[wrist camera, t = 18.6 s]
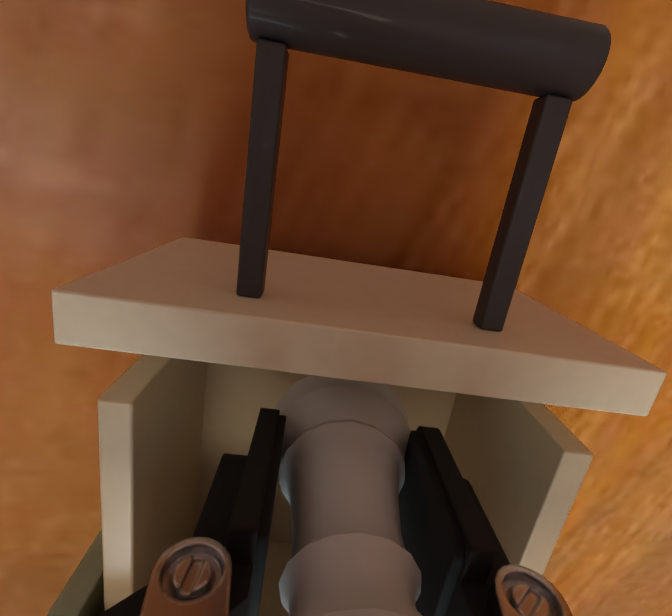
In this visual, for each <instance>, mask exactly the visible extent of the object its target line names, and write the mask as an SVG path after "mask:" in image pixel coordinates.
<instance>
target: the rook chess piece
mask: <svg viewBox="0 0 672 616" xmlns="http://www.w3.org/2000/svg"><path fill="white" fill-rule="evenodd" d="M275 409H278V410H280V414H279V415H284V416H287V417H286V424H285V432H284V439H283V446H282V453H281V461H280V468H279V475H278V483H279V485H280V486H281V491H282V493H283V494H284V496H285V497H286V499H287V500H288V502H289V503H290V507H291V520H292V534H293V542H292V554H291V559H290V560H289V561H288V562H287V564H286V566H285V569H284V571H283V573H282V576H281V578H280V581H279V591H280V598H281V604H282V605H283V606H284V608H285V609H286V610H287V612H288V613H289V616H422V615H421V614H420V613H419V612H418V611H417V609H416V606H415V603H416V601H417V599H418V597H419V595H420V594H421V571H420V569H419V568H418V566H417V564H416V562H415V561H414V559H413V557H412V555H411V553H409V552H408V551H406V550H405V547H404V542H403V538H402V534H401V527H400V513H399V499H398V495H399V493H400V491H401V489H402V487H403V485H404V481H405V461H404V457H405V451H406V447H407V443H408V439H409V435H410V432H411V430H410V428H409V426H408V415H407V413H406V411H405V409H404V407H403V405H402V403H401V401H400V399H399V396H398V394H397V393H396V392H394V391H393V390H392V389H391V388H390V387H388V386H387V385H386V384H379V383H371V382H363V381H355V380H347V379H339V378H331V377H323V376H314V375H311V376H309V377H307V378H304V379H302V380H300V381H298V382H296V383H295V384H294V385H293V386H292V387H291V388H290V389H289V390H288V391H287V392H286V393H285V394H284V395H283V396H282V397H281V398H280V399H279V400H278V401H277V404H276V407H275Z"/></svg>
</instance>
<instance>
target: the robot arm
mask: <svg viewBox="0 0 672 616" xmlns="http://www.w3.org/2000/svg"><path fill="white" fill-rule="evenodd" d="M279 414H280V410H278V409H269V408H260V412H259V415H258V419H257V423H256V426H255V430H254V434H253V438H252V441H251V445H250V449H249V452H248V456H247V455H238V454H228V453H224V454H223V455H222V458H221V460H220V463H219V466H218V468H217V471H216V474H215V477H214V479H213V482H212V485H211V488H210V491H209V493H208V496H207V499H206V502H205V504H204V507H203V510H202V513H201V515H200V518H199V521H198V524H197V526H196V529H195V532H194V535H193V537H192V538H187V539H184V540H182V541H180V542H177V543H175V544H174V545H172V546H171V547H170V548H168V549H167V550H165V551H164V553H163V554H162V555H161V556H160V557H159V559H158V560H157V561H156V563H155V565H154V568H153V570H152V572H151V576H150V579H149V583H148V584H147V585H146V586H144V587H143V588H141V589H139V590H138V591H136V592H135V593H133V594H131V595H130V596H128V597H127V598H125V599H123V600H122V601H120V602H119V603H117V604H115V605H114V606H112V607H111V608H109V609H107V610H106V611H104V612H102V613H101V614H99V615H98V616H258V614H259V608H260V601H261V594H262V587H263V580H264V573H265V566H266V559H267V553H268V546H269V539H270V532H271V525H272V518H273V511H274V504H275V497H276V490H277V483H278V475H279V468H280V461H281V453H282V446H283V439H284V432H285V424H286V417H287V416H284V415H279ZM404 461H405V481H404V485H403V487H402V489H401V491H400V493H399V495H398V499H399V513H400V527H401V534H402V538H403V542H404V547H405V550H406V551H408V552H409V553H411V555H412V557H413V559H414V561H415V562H416V564H417V566H418V568H419V569H420V571H421V594H420V595H419V597H418V599H417V601H416V603H415V606H416V609H417V611H418V612H419V613H420V614H421V615H422V616H573V615H572V613H571V611H570V609H569V607H568V605H567V603H566V601H565V600H564V598H563V596H562V594H561V593H560V592H559V591H558V590H557V589H556V587H555V586H554V585H553V584H552V583H551V582H549V581H548V580H547V579H546V578H545V577H543V576H542V575H541V574H539V573H537V572H535V571H534V570H532V569H530V568H527V567H524V566H521V565H514V564H510V563H509V560H508V558H507V556H506V554H505V552H504V550H503V548H502V546H501V544H500V542H499V540H498V538H497V536H496V534H495V532H494V530H493V528H492V526H491V524H490V522H489V520H488V518H487V516H486V514H485V512H484V510H483V508H482V506H481V504H480V502H479V500H478V498H477V496H476V494H475V492H474V490H473V488H472V486H471V484H470V482H469V481H468V480H467V479H465V478H463V477H462V475H461V473H460V471H459V469H458V467H457V465H456V463H455V461H454V458H453V456H452V454H451V452H450V450H449V448H448V446H447V444H446V442H445V440H444V437H443V435H442V433H441V431H440V430H439V429H438V428H433V427H424V426H419V427H418V428H417V430H416V431H415V430H412V431H411V432H410V435H409V439H408V443H407V447H406V451H405V457H404Z"/></svg>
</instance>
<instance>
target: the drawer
mask: <svg viewBox="0 0 672 616" xmlns="http://www.w3.org/2000/svg"><path fill="white" fill-rule="evenodd" d="M246 22H247V29H248V33H249V37H250V39H251V40H252V41H253V42H255V43H257V45H256V57H255V69H254V81H253V93H252V105H251V117H250V130H249V142H248V154H247V166H246V178H245V190H244V202H243V215H242V227H241V239H240V245H234V244H228V243H221V242H214V241H207V240H201V239H194V238H187V237H182V238H179V239H177V240H174V241H172V242H169V243H167V244H165V245H162V246H160V247H157V248H155V249H152V250H150V251H147V252H145V253H142V254H140V255H137V256H135V257H132V258H130V259H127V260H125V261H122V262H120V263H117V264H115V265H112V266H110V267H107V268H105V269H102V270H100V271H97V272H95V273H92V274H90V275H87V276H85V277H82V278H80V279H77V280H75V281H72V282H70V283H67V284H65V285H62V286H60V287H57V288H55V289H53V290H52V292H51V294H52V309H53V324H54V339H55V343H57V344H63V345H72V346H80V347H88V348H96V349H104V350H112V351H120V352H128V353H136V354H143V355H142V356H141V357H140V358H139V359H138V360H137V361H136V362H135V363H134V364H133V365H132V366H131V367H130V368H129V369H128V370H127V371H125V372H124V373H123V374H122V375H121V376H120V377H119V378H118V379H117V380H116V381H115V382H114V383H113V384H112V385H111V386H110V387H109V388H108V389H107V390H106V391H105V392H104V393H103V394H102V395H101V396H100V397H99V399H98V426H99V457H100V488H101V519H102V550H103V581H104V611H106V610H107V609H109V608H111V607H112V606H114V605H115V604H117V603H119V602H120V601H122V600H123V599H125V598H127V597H128V596H130V595H131V594H133V593H135V592H136V591H138V590H139V589H141V588H143V587H144V586H146V585H147V584H148V583H149V579H150V576H151V572H152V570H153V568H154V565H155V563H156V561H157V560H158V559H159V557H160V556H161V555H162V554H163V553H164V551H165V550H167V549H168V548H170V547H171V546H172V545H174V544H175V543H177V542H180V541H182V540H184V539H187V538H192V537H193V535H194V532H195V529H196V526H197V524H198V521H199V518H200V515H201V513H202V510H203V507H204V504H205V502H206V499H207V496H208V493H209V491H210V488H211V485H212V482H213V479H214V477H215V474H216V471H217V468H218V466H219V463H220V460H221V458H222V455H223V454H224V453H228V454H238V455H247V456H248V452H249V449H250V445H251V441H252V438H253V434H254V430H255V426H256V423H257V419H258V415H259V412H260V408H269V409H275V407H276V404H277V401H278V400H279V399H280V398H281V397H282V396H283V395H284V394H285V393H286V392H287V391H288V390H289V389H290V388H291V387H292V386H293V385H294V384H295V383H296V382H298V381H300V380H302V379H304V378H307V377H309V376H311V375H314V376H323V377H331V378H339V379H347V380H355V381H363V382H371V383H379V384H386V385H387V386H388V387H390V388H391V389H392V390H393V391H394V392H396V393H397V394H398V396H399V399H400V401H401V403H402V405H403V407H404V409H405V411H406V413H407V415H408V426H409V428H410V430H411V431H412V430H415V431H416V430H417V428H418V427H419V426H424V427H433V428H438V429H439V430H440V431H441V433H442V435H443V437H444V440H445V442H446V444H447V446H448V448H449V450H450V452H451V454H452V456H453V458H454V461H455V463H456V465H457V467H458V469H459V471H460V473H461V475H462V477H463V478H465V479H467V480H468V481H469V482H470V484H471V486H472V488H473V490H474V492H475V494H476V496H477V498H478V500H479V502H480V504H481V506H482V508H483V510H484V512H485V514H486V516H487V518H488V520H489V522H490V524H491V526H492V528H493V530H494V532H495V534H496V536H497V538H498V540H499V542H500V544H501V546H502V548H503V550H504V552H505V554H506V556H507V558H508V560H509V563H510V564H514V565H521V566H524V567H527V568H530V569H532V570H534V571H535V572H537V573H539V574H541V575H543V573H544V570H545V568H546V566H547V563H548V561H549V558H550V556H551V554H552V551H553V549H554V547H555V544H556V542H557V540H558V537H559V535H560V533H561V530H562V528H563V526H564V523H565V521H566V519H567V516H568V514H569V512H570V509H571V507H572V505H573V502H574V500H575V498H576V495H577V493H578V491H579V488H580V486H581V484H582V481H583V479H584V477H585V474H586V472H587V470H588V467H589V465H590V463H591V460H592V458H593V453H592V452H591V451H590V450H589V449H588V448H587V447H586V446H585V445H584V444H583V443H582V442H581V441H580V440H579V439H578V438H577V437H576V436H575V435H574V434H573V433H572V432H571V431H570V430H569V429H568V428H567V427H566V426H565V425H564V424H563V423H562V422H561V421H560V420H559V419H558V418H557V417H556V416H555V415H554V414H553V413H552V412H551V411H550V410H549V409H548V408H547V407H546V406H545V405H544V404H549V405H557V406H565V407H573V408H582V409H590V410H598V411H606V412H614V413H622V414H630V415H638V416H647V415H648V414H649V411H650V409H651V407H652V405H653V403H654V401H655V398H656V396H657V394H658V392H659V390H660V388H661V385H662V383H663V381H664V379H665V377H666V375H667V373H666V372H665V371H664V370H662V369H660V368H658V367H656V366H655V365H653V364H651V363H649V362H647V361H646V360H644V359H642V358H640V357H638V356H636V355H635V354H633V353H631V352H629V351H627V350H626V349H624V348H622V347H620V346H618V345H616V344H615V343H613V342H611V341H609V340H607V339H606V338H604V337H602V336H600V335H598V334H597V333H595V332H593V331H591V330H589V329H587V328H586V327H584V326H582V325H580V324H578V323H577V322H575V321H573V320H571V319H569V318H568V317H566V316H564V315H562V314H560V313H558V312H557V311H555V310H553V309H551V308H549V307H548V306H546V305H544V304H542V303H540V302H538V301H537V300H535V299H533V298H531V297H529V296H528V295H526V294H524V293H522V292H520V291H519V290H517V289H515V287H516V284H517V281H518V277H519V274H520V271H521V268H522V264H523V261H524V258H525V255H526V251H527V248H528V245H529V242H530V238H531V235H532V232H533V229H534V225H535V222H536V219H537V216H538V212H539V209H540V206H541V202H542V199H543V196H544V193H545V189H546V186H547V183H548V180H549V176H550V173H551V170H552V167H553V163H554V160H555V157H556V154H557V150H558V147H559V144H560V141H561V137H562V134H563V131H564V128H565V124H566V121H567V118H568V114H569V111H570V108H571V105H572V102H573V101H576V100H578V99H580V98H581V97H582V96H584V95H585V94H586V93H587V92H588V90H589V89H590V88H591V87H592V86H593V84H594V83H595V81H596V80H597V78H598V77H599V75H600V73H601V71H602V69H603V67H604V65H605V62H606V60H607V57H608V54H609V50H610V45H611V34H610V31H609V29H608V28H607V27H606V26H605V25H602V24H597V23H592V22H587V21H583V20H578V19H573V18H569V17H564V16H559V15H554V14H550V13H545V12H540V11H535V10H531V9H526V8H521V7H517V6H512V5H507V4H502V3H498V2H493V1H488V0H246ZM288 49H292V50H297V51H302V52H307V53H313V54H318V55H323V56H328V57H333V58H339V59H344V60H349V61H354V62H360V63H365V64H370V65H375V66H380V67H386V68H391V69H396V70H401V71H406V72H412V73H417V74H422V75H427V76H432V77H438V78H443V79H448V80H453V81H458V82H464V83H469V84H474V85H479V86H484V87H490V88H495V89H500V90H505V91H510V92H516V93H521V94H526V95H531V96H536V97H540V98H537V99H535V100H534V102H533V105H532V109H531V113H530V116H529V120H528V123H527V127H526V131H525V134H524V138H523V141H522V145H521V148H520V152H519V156H518V159H517V163H516V166H515V170H514V173H513V177H512V181H511V184H510V188H509V191H508V195H507V198H506V202H505V206H504V209H503V213H502V216H501V220H500V224H499V227H498V231H497V234H496V238H495V241H494V245H493V249H492V252H491V256H490V259H489V263H488V266H487V270H486V274H485V277H484V281H476V280H469V279H463V278H456V277H449V276H442V275H436V274H429V273H422V272H416V271H409V270H402V269H395V268H389V267H382V266H375V265H369V264H362V263H355V262H348V261H342V260H335V259H328V258H322V257H315V256H308V255H301V254H295V253H288V252H281V251H275V250H269V241H270V231H271V222H272V212H273V202H274V193H275V183H276V174H277V164H278V155H279V145H280V136H281V126H282V117H283V107H284V98H285V88H286V79H287V69H288V59H289V53H288ZM292 542H293V534H292V520H291V507H290V503H289V502H288V500H287V499H286V497H285V496H284V494H283V493H282V491H281V486H280V485H279V483H277V490H276V497H275V504H274V511H273V518H272V525H271V532H270V539H269V546H268V553H267V559H266V566H265V573H264V580H263V587H262V594H261V601H260V608H259V614H258V616H289V613H288V612H287V610H286V609H285V608H284V606H283V605H282V604H281V598H280V591H279V581H280V578H281V576H282V573H283V571H284V569H285V566H286V564H287V562H288V561H289V560H290V559H291V554H292Z"/></svg>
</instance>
